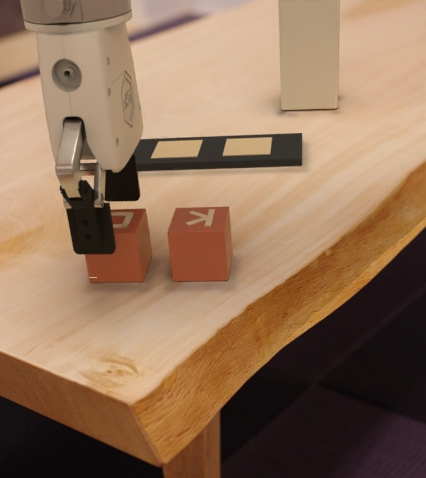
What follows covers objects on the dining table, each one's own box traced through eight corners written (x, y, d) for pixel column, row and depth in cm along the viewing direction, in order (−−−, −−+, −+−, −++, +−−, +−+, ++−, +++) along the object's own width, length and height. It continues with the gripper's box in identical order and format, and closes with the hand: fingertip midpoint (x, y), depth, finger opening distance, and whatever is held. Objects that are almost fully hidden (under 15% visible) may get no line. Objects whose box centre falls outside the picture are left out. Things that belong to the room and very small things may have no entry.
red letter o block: (152, 255, 64) (145, 206, 62) (143, 282, 61) (135, 231, 58) (102, 256, 65) (93, 208, 63) (89, 282, 61) (80, 232, 59)
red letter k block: (232, 254, 64) (229, 204, 61) (228, 280, 60) (224, 229, 57) (180, 255, 64) (175, 206, 62) (173, 281, 60) (166, 230, 58)
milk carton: (337, 109, 94) (339, -58, 83) (281, 111, 95) (276, -54, 85) (338, 93, 100) (340, -66, 89) (285, 94, 101) (281, -62, 91)
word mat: (302, 139, 86) (302, 131, 85) (301, 165, 79) (301, 157, 79) (133, 145, 88) (132, 138, 88) (119, 171, 82) (117, 163, 81)
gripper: (99, 23, 44) (134, 277, 53) (151, -23, 58) (171, 182, 67) (-23, 29, 45) (32, 277, 54) (58, -19, 59) (91, 184, 68)
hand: (109, 224), depth 60 cm, fingers open, 9 cm apart
